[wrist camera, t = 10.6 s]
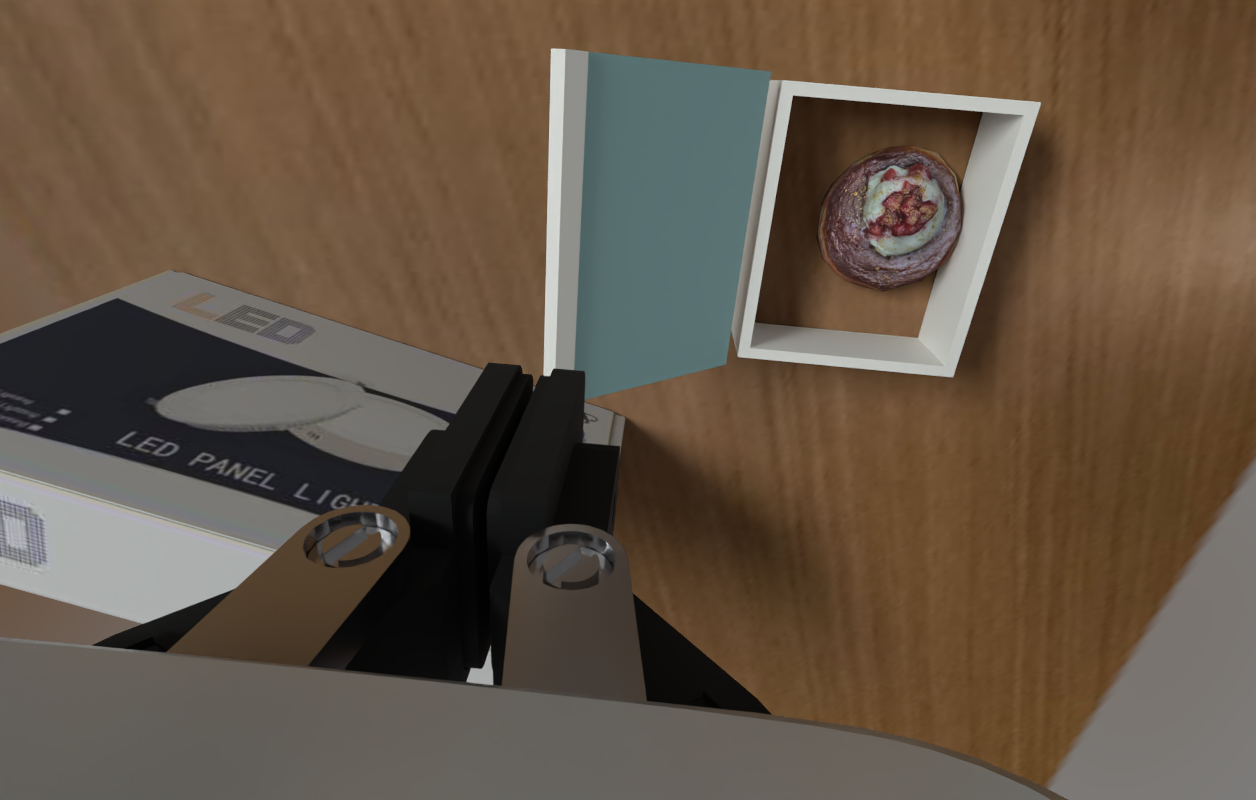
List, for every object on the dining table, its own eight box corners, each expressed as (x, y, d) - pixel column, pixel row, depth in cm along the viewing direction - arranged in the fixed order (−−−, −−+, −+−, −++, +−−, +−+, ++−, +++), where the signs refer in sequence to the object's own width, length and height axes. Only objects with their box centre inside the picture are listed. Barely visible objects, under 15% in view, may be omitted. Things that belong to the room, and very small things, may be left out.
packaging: (626, 415, 44) (594, 644, 26) (599, 487, 47) (553, 740, 29) (169, 267, 42) (-213, 408, 24) (168, 352, 44) (-177, 538, 26)
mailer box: (769, 80, 35) (782, 80, 31) (998, 100, 35) (1041, 102, 31) (731, 329, 41) (737, 356, 37) (925, 348, 41) (953, 377, 37)
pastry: (919, 115, 35) (955, 120, 31) (979, 230, 38) (1020, 250, 33) (789, 206, 38) (805, 223, 33) (853, 308, 40) (876, 337, 36)
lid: (774, 72, 30) (758, 71, 31) (565, 49, 24) (551, 48, 24) (728, 365, 37) (715, 359, 37) (554, 409, 30) (542, 401, 31)
